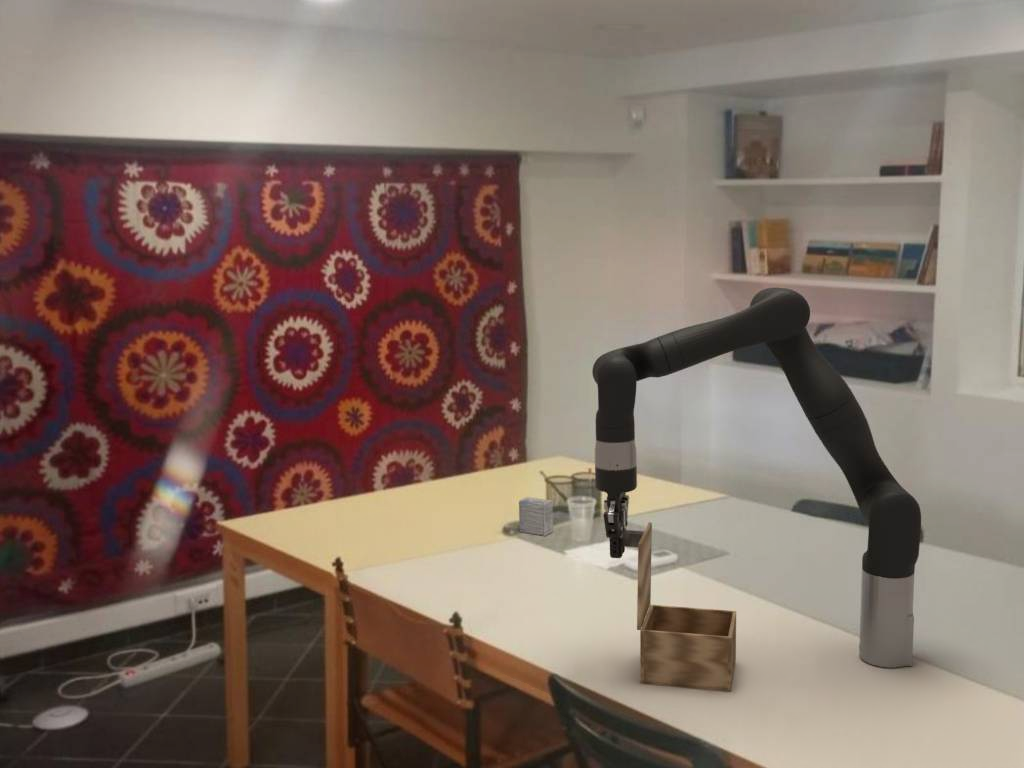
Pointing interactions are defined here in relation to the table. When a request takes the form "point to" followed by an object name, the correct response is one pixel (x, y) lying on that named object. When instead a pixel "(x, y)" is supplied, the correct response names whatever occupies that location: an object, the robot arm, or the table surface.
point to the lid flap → (641, 568)
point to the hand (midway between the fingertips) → (617, 554)
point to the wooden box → (688, 647)
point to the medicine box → (536, 516)
